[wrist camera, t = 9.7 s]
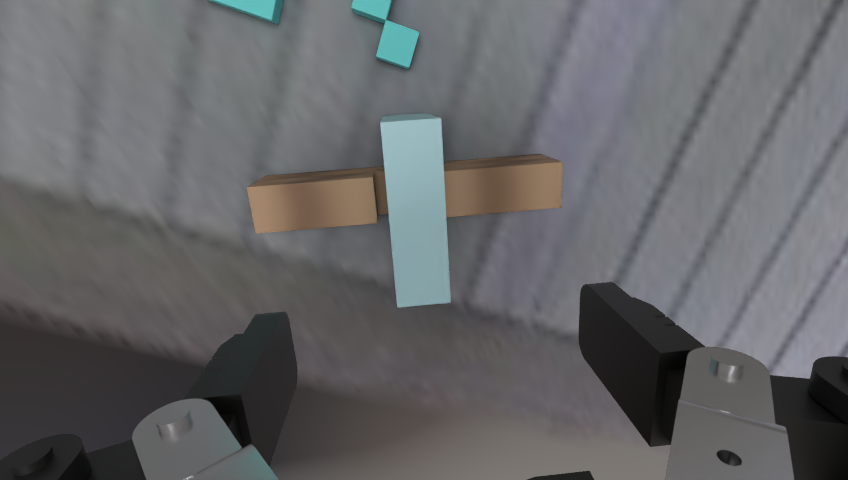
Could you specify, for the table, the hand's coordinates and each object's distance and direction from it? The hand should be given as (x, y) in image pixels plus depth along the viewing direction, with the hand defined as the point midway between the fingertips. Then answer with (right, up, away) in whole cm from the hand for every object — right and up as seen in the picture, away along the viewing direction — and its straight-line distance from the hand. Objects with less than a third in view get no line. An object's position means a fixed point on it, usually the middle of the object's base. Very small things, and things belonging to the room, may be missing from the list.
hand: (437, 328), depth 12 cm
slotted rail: (-2, +6, +21) cm, 22 cm away
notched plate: (-1, +7, +21) cm, 22 cm away
